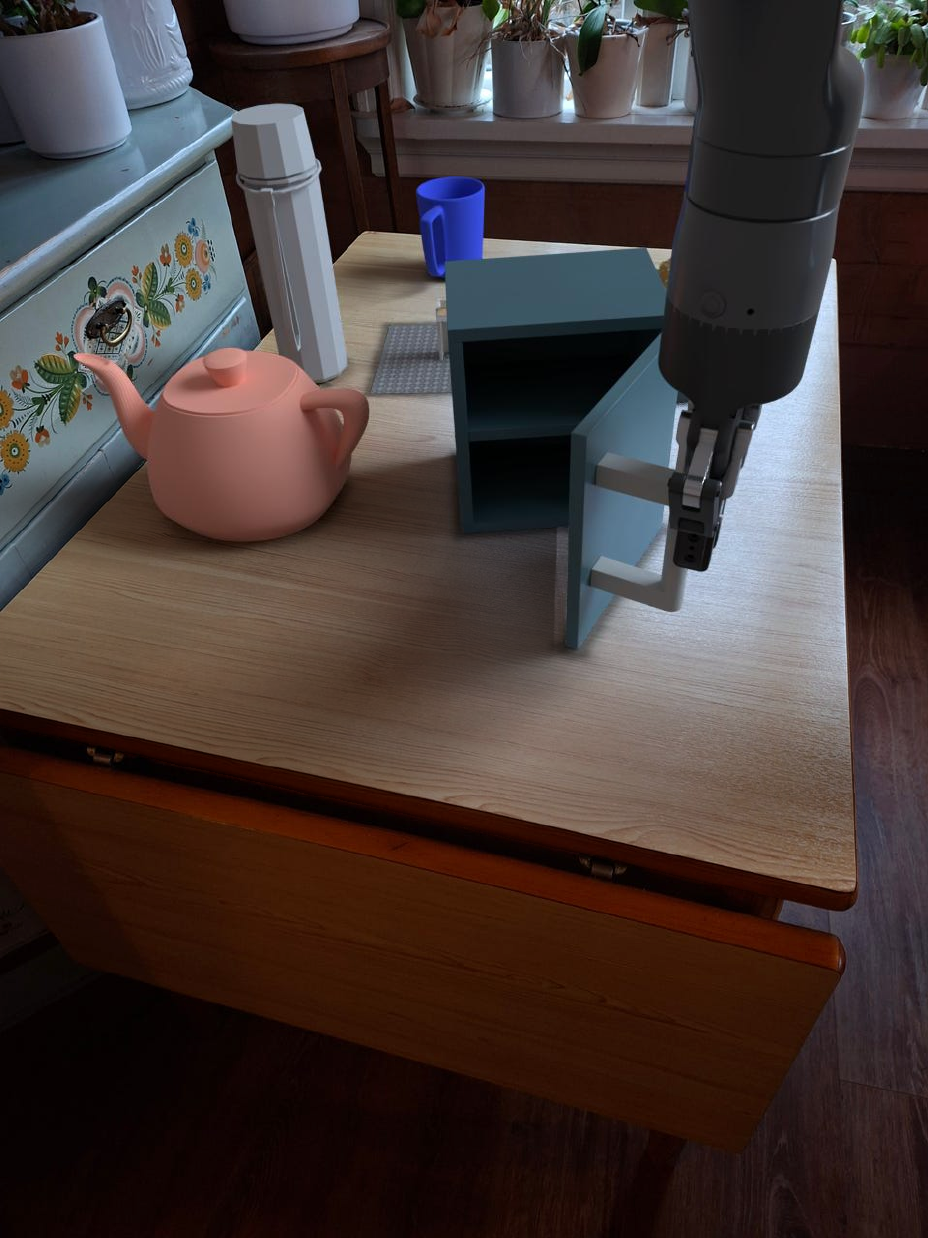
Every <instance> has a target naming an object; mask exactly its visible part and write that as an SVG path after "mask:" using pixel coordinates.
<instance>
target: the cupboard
mask: <svg viewBox="0 0 928 1238" xmlns="http://www.w3.org/2000/svg"><path fill="white" fill-rule="evenodd" d="M656 269H657V268H656V265H655V263H654V261H653V260H652V257H651V254H650V253H649V250H648V248H647V247H636V248H635V247H634V248H633V247H632V248H621V249H620V248H619V249H604V250H593V251H578V252H575V251H574V252H562V253H561V252H560V253H549V254H534V255H533V254H532V255H518V256H504V257H490V258H482V259H474V260H459V261H445V278H444V282H445V283H444V284H445V299H446V310H447V333H448V347H449V360H450V374H451V388H452V392H451V398H452V399H451V400H452V401H451V402H452V411H453V412H452V413H453V425H454V428H453V429H454V437H455V438H454V441H455V442H454V443H455V451H456V452H455V453H456V455H455V456H456V466H457V468H456V469H457V480H458V481H457V482H458V495H459V506H460V523H461V534H473V533H474V534H477V533H489V532H504V531H507V532H508V531H520V530H536V529H537V530H538V529H552V528H565V527H566V528H567V527H568V528H569V495H570V460H571V433H572V431H573V430H574V429H575V428H576V427H577V426H578V425H579V424H580V422H581V421H582V420H583V419H584V418H585V417H586V416H587V415H588V414H589V412H590V411H591V410H592V409H593V408H594V407H595V406H596V405H597V404H598V402H599V401H600V400H601V399H602V398H603V397H604V396H605V395H606V393H607V392H608V391H609V390H610V389H611V388H612V387H613V386H614V385H615V383H616V382H617V381H618V380H619V379H620V378H621V377H622V376H623V375H624V373H625V372H626V371H627V370H628V369H629V368H630V367H631V366H632V365H633V363H634V362H635V361H636V360H637V359H638V358H639V357H640V356H641V354H642V353H643V352H644V351H645V350H646V349H647V348H648V347H649V346H650V344H651V343H652V342H653V341H654V340H655V339H656V338H657V337H658V336H659V334H660V333H661V332H662V325H663V317H664V309H665V301H666V290H665V287H664V285H663V283H662V281H661V279H660V277H659V274H658V272H657V270H656Z"/></svg>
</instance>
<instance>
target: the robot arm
mask: <svg viewBox="0 0 928 1238" xmlns="http://www.w3.org/2000/svg"><path fill="white" fill-rule="evenodd" d="M844 4H845V0H687V5H688V6H687V9H688V20H689V32H690V45H691V52H692V53H691V54H692V60H693V67H694V73H695V81H696V91H697V93H696V95H697V97H696V105H695V111H694V116H693V123H692V131H691V132H692V133H691V140H690V147H689V148H690V149H689V156H688V162H687V163H688V164H687V170H686V178H685V186H684V192H683V196H682V203H681V207H680V211H679V216H678V218H677V222H676V225H675V230H674V234H673V238H672V245H671V253H670V258H671V260H670V268H669V276H668V284H667V292H666V301H665V309H664V317H663V325H662V333H661V341H660V349H659V357H658V366H659V370H660V373H661V375H662V376H663V378H664V379H665V381H666V382H667V383H668V384H669V385H670V386H671V387H672V388H674V389H675V390H677V391H679V392H681V393H682V394H683V395H685V396H686V397H687V398H688V399H689V402H687V403H688V404H687V409H682V410H681V411H680V414H679V418H678V421H677V427H676V433H675V441H676V443H677V445H678V450H677V455H676V462H675V469H674V470H675V472H673V474H672V477H671V478H669V480H668V484H667V487H669V490H668V498H669V506H668V519H669V517H670V519H669V522H670V528H671V529H675V530H677V537H676V543H675V549H674V555H673V563H674V564H675V565H676V566H678V567H681V568H686V569H688V570H691V571H695V572H699V573H703V572H704V573H705V572H706V571H707V570H709V567H710V564H711V561H712V556H713V552H714V549H716V546H717V544H718V543H719V537H720V535H721V534H720V533H721V528H722V523H723V519H724V513H725V510H726V509H725V508H726V504H727V499H730V498H731V497H732V496H733V495H734V493H735V490H736V487H737V485H738V481H739V477H740V471H741V470H742V469H743V468H744V465H745V462H746V459H747V456H748V453H749V448H750V445H751V443H752V440H753V434H754V431H755V430H757V429H756V428H757V425H758V423H759V421H760V417H761V413H762V409H763V405H766V404H770V403H773V402H776V401H779V400H781V399H782V398H784V397H786V396H788V395H790V394H791V393H792V392H793V391H794V390H795V389H796V388H797V387H798V386H799V384H800V383H801V381H802V379H803V377H804V373H805V369H806V365H807V361H808V357H809V355H810V349H811V345H812V341H813V337H814V333H815V329H816V325H817V321H818V317H819V314H820V313H819V312H820V309H821V304H822V301H823V297H824V293H825V289H826V284H827V281H828V277H829V273H830V268H831V264H832V260H833V255H834V250H835V243H836V235H837V234H836V233H837V224H838V215H839V210H840V205H841V199H842V197H843V192H844V188H845V184H846V180H847V177H848V172H849V167H850V163H851V159H852V155H853V152H854V147H855V143H856V139H857V138H856V137H857V134H858V130H859V126H860V121H861V117H862V111H863V105H864V98H865V85H866V75H865V71H864V68H863V66H862V62H861V61H860V59H859V58H858V57H857V56H856V55H855V54H854V52H853V51H851V50H849V49H848V48H846V47H845V46H843V45H841V40H842V39H841V37H842V27H843V14H844Z"/></svg>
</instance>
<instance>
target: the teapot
mask: <svg viewBox="0 0 928 1238" xmlns="http://www.w3.org/2000/svg"><path fill="white" fill-rule="evenodd" d="M73 358H74V360H75V361H77V362H78V363H79V364H80V365H82V366H84V368H86V369H87V370H89V371H91V372H92V373H93V374H94V375H95V376H96V377H97V378H98V379H99V380H100V381H101V383H102V384H103V386H104V388H105V389H106V391H107V392H108V394H109V397H110V400H111V402H112V405H113V407H114V411H115V414H116V417H117V421H118V423H119V425H120V428H121V431H122V433H123V435H124V437H125V439H126V440H127V442H128V443H129V445H130V446H131V448H132V449H133V450H134V451H135V452H136V453H138V454H139V456H141V457H142V458H143V459H144V460H146V464H147V465H146V467H147V476H148V482H149V486H150V487H149V488H150V491H151V494H152V498H153V501H154V502H155V504H156V506H157V508H159V510H160V511H161V513H163V514H164V515H165V516H166V517H167V518H169V519H170V520H172V522H174V523H177V524H178V525H180V526H181V527H183V528H185V529H187V530H189V531H192V532H194V533H197V534H199V535H200V536H204V537H207V538H211V539H214V540H218V541H219V540H220V541H227V542H242V543H244V542H260V541H267V540H274V539H279V538H283V537H286V536H287V537H288V536H290V535H294V534H295V533H296V534H297V533H298V532H300V531H302V530H305V529H306V528H308V527H309V526H312V525H313V524H315V523H316V522H317V521H318V520H320V518H321V517H322V516H323V515H324V514H325V513H326V512H327V511H328V509H329V508H330V507H331V505H332V504H333V502H334V501H335V500H336V498H337V497H338V495H339V494H340V493H341V491H342V489H343V487H344V485H345V484H346V481H347V479H348V477H349V474H350V470H351V466H352V465H351V464H352V456H353V455H352V454H353V453H354V451H355V450H356V448H357V446H358V445H359V443H360V441H361V440H362V437H363V436H364V433H365V432H366V429H367V427H368V423H369V419H370V403H369V401H368V398H367V397H366V396H365V394H363V393H362V392H360V391H359V390H356V389H353V388H345V387H344V388H343V387H340V388H339V387H337V388H327V389H321V388H320V387H319V386H318V385H317V383H314V381H313V380H312V379H311V378H310V377H309V376H308V375H307V374H306V373H305V372H304V371H303V370H302V369H301V368H300V367H299V366H298V365H297V364H296V363H295V362H293V361H292V360H290V359H288V358H286V357H283V356H280V355H279V354H277V353H273V352H268V351H261V350H244V349H241V348H237V347H223V348H222V347H221V348H218V349H215V350H213V351H211V352H208V353H207V354H206V355H204V356H201V357H198V358H196V359H193V360H192V361H190V362H188V363H186V364H185V365H184V366H183V367H181V368H180V369H178V370H177V371H176V372H175V373H174V374H173V376H171V378H170V379H169V380H168V381H167V383H165V385H164V387H163V388H162V391H161V393H160V396H159V399H158V401H157V404H156V407H155V410H154V409H153V408H151V407H150V406H149V405H148V404H147V403H146V402H145V401H144V399H143V398H142V397H141V396H140V393H139V392H138V390H137V389H136V388H135V385H134V384H133V382H132V381H131V379H130V378H129V377H128V375H127V374H126V373H125V371H123V369H122V368H121V367H119V366H118V365H117V364H116V363H115V362H114V361H112V360H110V359H109V358H106V357H105V356H101V355H98V354H93V353H90V352H89V353H88V352H77V353H75V354H73ZM337 411H339V412H340V413H341V414H342V418H343V421H342V419H341V418H340V415H339V414H338V412H337Z"/></svg>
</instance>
